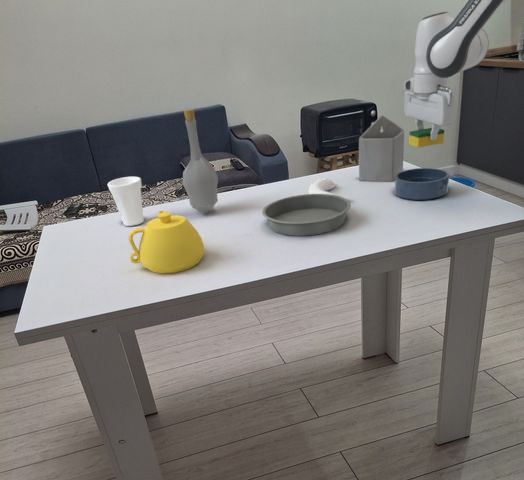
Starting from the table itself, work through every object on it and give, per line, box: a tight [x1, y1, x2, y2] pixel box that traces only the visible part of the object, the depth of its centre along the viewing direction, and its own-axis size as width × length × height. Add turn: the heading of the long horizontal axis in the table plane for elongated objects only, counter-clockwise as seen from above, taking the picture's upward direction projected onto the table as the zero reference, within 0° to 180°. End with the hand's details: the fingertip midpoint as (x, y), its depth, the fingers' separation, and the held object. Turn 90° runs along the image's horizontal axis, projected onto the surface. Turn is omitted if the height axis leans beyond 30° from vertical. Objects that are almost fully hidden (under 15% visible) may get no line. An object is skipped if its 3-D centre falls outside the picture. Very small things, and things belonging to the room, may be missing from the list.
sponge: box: [408, 127, 445, 148], centre depth 152 cm, size 8×5×4 cm, turn 107°
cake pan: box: [261, 193, 351, 237], centre depth 151 cm, size 25×25×4 cm
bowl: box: [394, 167, 450, 201], centre depth 161 cm, size 15×15×6 cm
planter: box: [358, 115, 405, 183], centre depth 174 cm, size 16×8×19 cm, turn 108°
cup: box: [107, 176, 145, 227], centre depth 163 cm, size 10×10×13 cm
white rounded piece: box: [307, 178, 347, 199], centre depth 168 cm, size 5×19×15 cm
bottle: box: [182, 108, 219, 214], centre depth 160 cm, size 11×11×30 cm
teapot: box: [127, 210, 206, 274], centre depth 135 cm, size 20×19×13 cm
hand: (426, 137), depth 152 cm, fingers closed on sponge, 5 cm apart
